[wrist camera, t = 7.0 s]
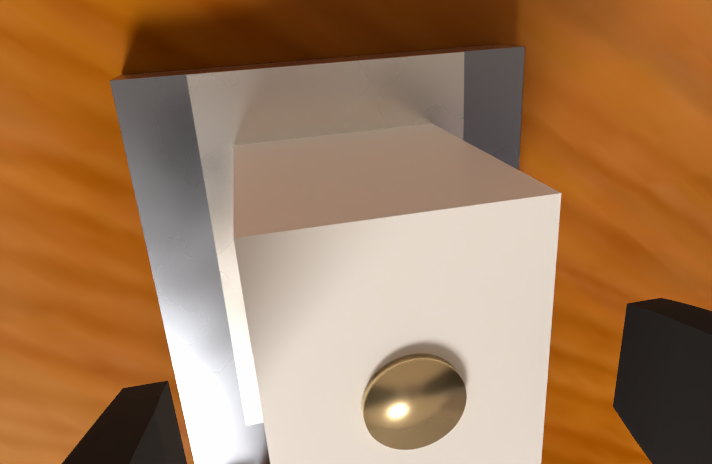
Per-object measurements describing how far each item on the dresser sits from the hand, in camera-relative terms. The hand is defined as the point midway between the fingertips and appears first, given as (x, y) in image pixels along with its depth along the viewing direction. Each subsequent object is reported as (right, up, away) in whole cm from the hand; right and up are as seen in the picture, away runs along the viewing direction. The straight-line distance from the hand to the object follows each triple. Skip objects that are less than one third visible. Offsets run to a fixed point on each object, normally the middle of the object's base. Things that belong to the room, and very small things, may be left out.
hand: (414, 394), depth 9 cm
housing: (-1, +2, +5) cm, 5 cm away
